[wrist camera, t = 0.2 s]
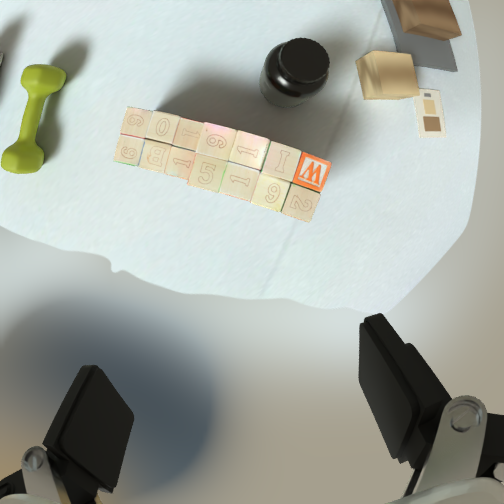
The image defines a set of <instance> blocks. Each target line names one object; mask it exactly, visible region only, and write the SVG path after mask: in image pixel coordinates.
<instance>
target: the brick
mask: <svg viewBox="0 0 504 504" xmlns="http://www.w3.org/2000/svg"><path fill="white" fill-rule="evenodd" d="M392 1H393V4H394V6H395V9H396V12H397V15H398V17H399V20H400V23H401V26H402V29H403V32H404V33H409V34H414V35H420V36H424V37H429V38H433V39H437V40H442V41H446V40H449V39H452V38H454V37H457V36H460V35H462V34H461V31H460V28H459V26H458V23H457V20H456V17H455V15H454V12H453V10H452V7H451V5H450V3H449V0H392Z"/></svg>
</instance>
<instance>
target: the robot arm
mask: <svg viewBox="0 0 504 504" xmlns="http://www.w3.org/2000/svg"><path fill="white" fill-rule="evenodd" d="M359 329H360V330H359V334H360V338H359V340H360V341H359V343H360V344H359V383H360V386H361V388H362V390H363V393H364V395H365V397H366V399H367V401H368V404H369V406H370V408H371V410H372V413H373V415H374V417H375V420H376V422H377V424H378V427H379V429H380V431H381V433H382V436H383V438H384V440H385V443H386V445H387V448H388V450H389V453H390V455H391V457H392V458H393V459H395V458H398V461H399V463H400V464H401V463H403V462H405V461H409V464H410V466H411V468H413V472H412V474H411V476H410V479H409V481H408V483H407V486H406V488H405V490H404V492H403V495H402V496H401V499H398V500H395V501H393V502H390V503H386V504H504V486H503V485H502V484H501V482H504V415H498V414H491V413H487V410H486V408H485V405H484V404H483V403H482V402H481V401H480V400H479V399H477V398H476V397H473V396H469V395H465V396H459V397H456V398H454V399H452V398H451V397H450V395H449V394H448V392H447V391H446V390H445V388H444V387H443V385H442V384H441V382H440V381H439V379H438V378H437V377H436V375H435V374H434V373H433V371H432V370H431V368H430V367H429V366H428V364H427V363H426V361H425V360H424V359H423V357H422V356H421V355H420V353H419V352H418V351H417V349H416V348H415V347H414V346H413V345H412V344H411V343H407V344H405V343H404V342H403V341H402V339H401V338H400V337H399V335H398V334H397V333H396V331H395V330H394V329H393V327H392V326H391V325H390V323H389V322H388V321H387V319H386V318H385V317H384V315H383V314H382V313H378V314H375V315H372V316H369V317H366V318H365V319H364V323H361V324H360V328H359ZM133 422H134V415H133V412H132V411H131V409H130V408H129V407H128V405H127V404H126V403H125V401H124V400H123V399H122V397H121V396H120V395H119V393H118V392H117V391H116V389H115V388H114V386H113V385H112V383H111V382H110V381H109V379H108V378H107V376H106V375H105V373H104V372H103V371H102V369H100V368H99V367H98V366H96V365H85V366H82V367H81V369H80V371H79V373H78V374H77V376H76V378H75V379H74V381H73V383H72V385H71V387H70V389H69V391H68V392H67V394H66V396H65V398H64V400H63V402H62V404H61V406H60V408H59V410H58V412H57V414H56V416H55V418H54V420H53V422H52V424H51V426H50V428H49V430H48V432H47V434H46V437H45V439H44V441H43V443H42V444H43V445H44V446H45V447H46V448H47V451H45V450H44V449H43V448H42V447H40V446H34V447H31V448H29V449H28V450H27V451H26V452H25V453H24V455H23V457H22V461H21V467H22V469H20V470H19V471H17V472H15V473H13V474H11V475H9V476H7V477H6V478H4V479H2V480H1V481H0V504H103V503H102V501H101V500H100V497H99V495H98V493H97V490H98V489H99V490H100V491H102V492H107V493H112V492H113V489H114V487H116V485H117V482H118V478H119V474H120V470H121V466H122V462H123V458H124V454H125V450H126V447H127V443H128V439H129V436H130V432H131V429H132V425H133Z"/></svg>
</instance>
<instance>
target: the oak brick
mask: <svg viewBox="0 0 504 504" xmlns="http://www.w3.org/2000/svg"><path fill="white" fill-rule="evenodd" d="M355 62H356V66H357V70H358V74H359V79H360V83H361V88H362V93H363V98H364V100H378V99H381V100H399V99H404V98H409V97H415V96H420V92H419V87H418V83H417V78H416V74H415V69H414V65H413V61H412V57H411V54H404V53H396V52H386V51H374V50H373V51H371V52H370V53H368V54H367V55H365V56H363V57H362V58H360V59H359V60H357V61H355Z"/></svg>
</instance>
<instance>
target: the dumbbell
mask: <svg viewBox="0 0 504 504" xmlns="http://www.w3.org/2000/svg"><path fill="white" fill-rule="evenodd" d="M65 79H66V73H65V72H64V71H63V70H62V69H60V68H58V67H55V66H51V65H45V64H35V65H30V66H27V67H26V68H25V69H24V71H23V74H22V77H21V84H22V86H23V87H24V88H25V89H26V90H27V92H28V95H29V98H28V102H27V105H26V108H25V112H24V115H23V119H22V123H21V129H20V134H19V138H18V140H17V141H16V142H15V143H14V144H13V145H11V146H9V147H8V148H7V149H6V150H5V151H4V152H3V154H2V159H1V167H2V168H3V169H4V170H6V171H9V172H12V173H16V174H26V173H34V172H37V171H38V170H39V169H40V168H41V167H42V165H43V160H44V151H43V150H42V149H41V148H40V147H38V146H37V144H36V142H35V137H36V133H37V129H38V125H39V121H40V117H41V113H42V110H43V106H44V102H45V100H46V98H47V97H48V96H49V95H50V94H51V93H54V92H56V91H58V90H60V89H61V88H62V87H63V85H64V82H65Z"/></svg>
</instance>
